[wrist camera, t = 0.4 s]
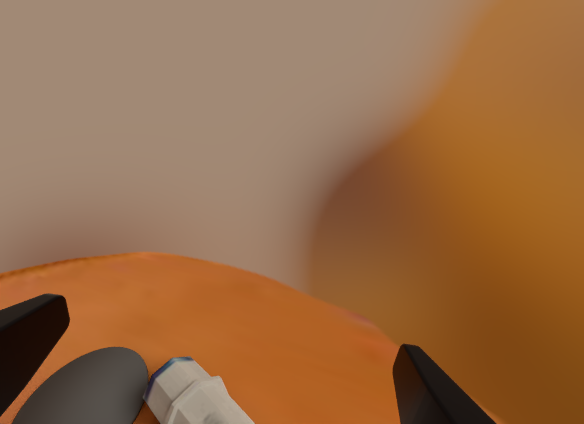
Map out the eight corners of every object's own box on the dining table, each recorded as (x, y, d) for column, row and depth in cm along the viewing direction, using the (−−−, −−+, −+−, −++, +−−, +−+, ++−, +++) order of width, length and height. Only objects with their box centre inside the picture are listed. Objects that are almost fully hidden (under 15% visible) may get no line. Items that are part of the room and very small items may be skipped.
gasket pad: (96, 497, 17) (94, 495, 16) (-33, 478, 18) (-36, 476, 18) (169, 352, 24) (168, 350, 24) (75, 345, 25) (73, 343, 25)
